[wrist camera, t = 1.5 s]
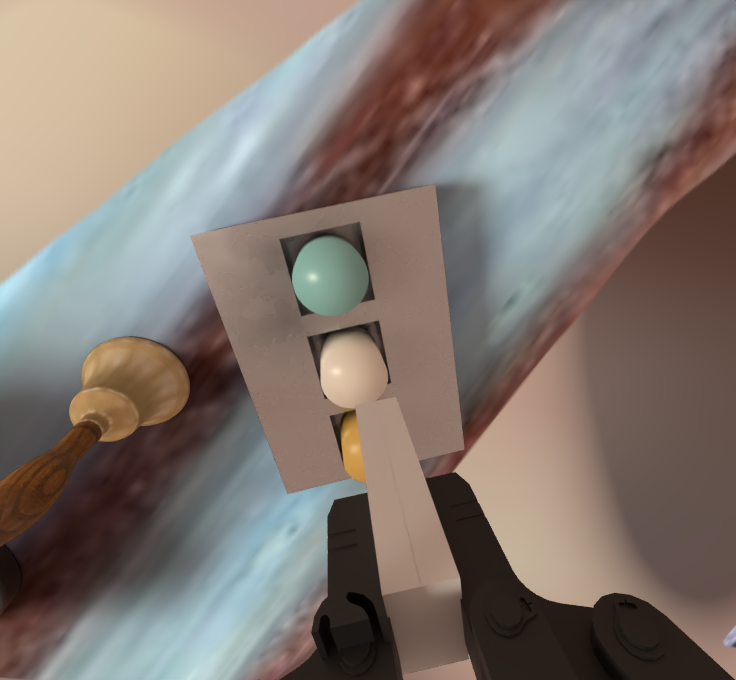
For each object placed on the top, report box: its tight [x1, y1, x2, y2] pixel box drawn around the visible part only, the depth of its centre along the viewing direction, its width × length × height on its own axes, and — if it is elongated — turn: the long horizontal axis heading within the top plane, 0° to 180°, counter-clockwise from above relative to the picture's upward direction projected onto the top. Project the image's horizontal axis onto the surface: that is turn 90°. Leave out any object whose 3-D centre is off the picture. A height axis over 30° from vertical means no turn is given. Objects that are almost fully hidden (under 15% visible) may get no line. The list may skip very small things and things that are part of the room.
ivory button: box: [320, 326, 388, 409], centre depth 26 cm, size 5×5×4 cm
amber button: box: [340, 410, 366, 483], centre depth 29 cm, size 5×5×4 cm
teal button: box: [292, 234, 369, 316], centre depth 23 cm, size 5×5×4 cm
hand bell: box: [0, 337, 190, 547], centre depth 23 cm, size 8×8×16 cm
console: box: [190, 184, 464, 494], centre depth 29 cm, size 16×22×4 cm
